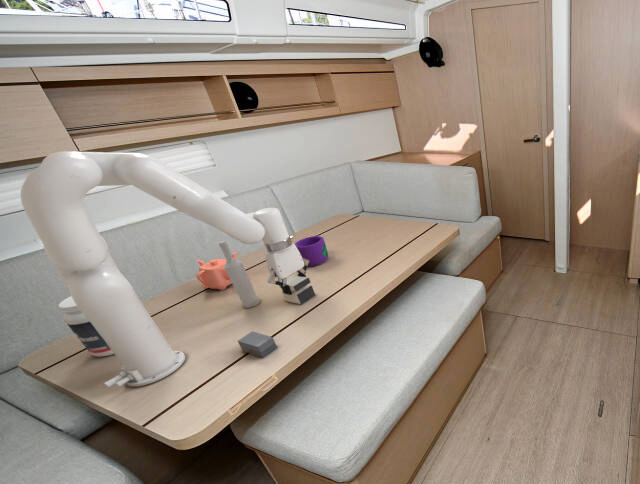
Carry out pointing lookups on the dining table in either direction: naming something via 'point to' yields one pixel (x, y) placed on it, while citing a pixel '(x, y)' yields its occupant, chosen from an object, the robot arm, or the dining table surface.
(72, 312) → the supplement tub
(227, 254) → the bottle
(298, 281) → the white book
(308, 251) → the mug
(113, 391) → the dining table surface
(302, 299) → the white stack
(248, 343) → the gray rectangular block
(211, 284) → the teapot
